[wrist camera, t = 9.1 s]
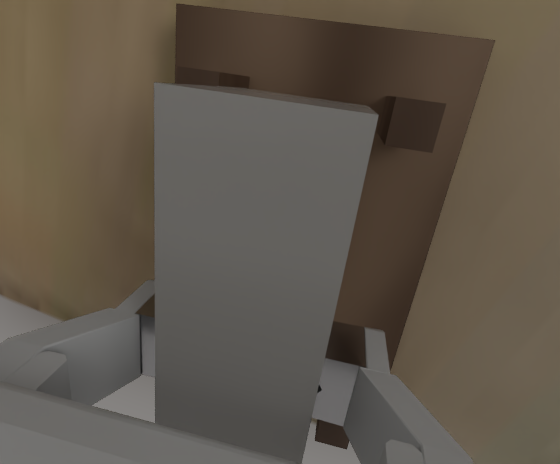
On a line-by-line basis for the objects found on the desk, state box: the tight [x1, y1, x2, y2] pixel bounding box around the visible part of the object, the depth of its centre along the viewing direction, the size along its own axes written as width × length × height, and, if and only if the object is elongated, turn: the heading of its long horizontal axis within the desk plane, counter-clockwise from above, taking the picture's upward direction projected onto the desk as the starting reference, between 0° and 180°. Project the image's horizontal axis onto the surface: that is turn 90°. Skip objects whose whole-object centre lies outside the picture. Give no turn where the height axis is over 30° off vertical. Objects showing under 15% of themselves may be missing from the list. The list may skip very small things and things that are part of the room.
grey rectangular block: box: [154, 82, 379, 463], centre depth 10 cm, size 3×12×4 cm, turn 173°
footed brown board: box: [175, 4, 495, 449], centre depth 14 cm, size 10×16×4 cm, turn 173°
